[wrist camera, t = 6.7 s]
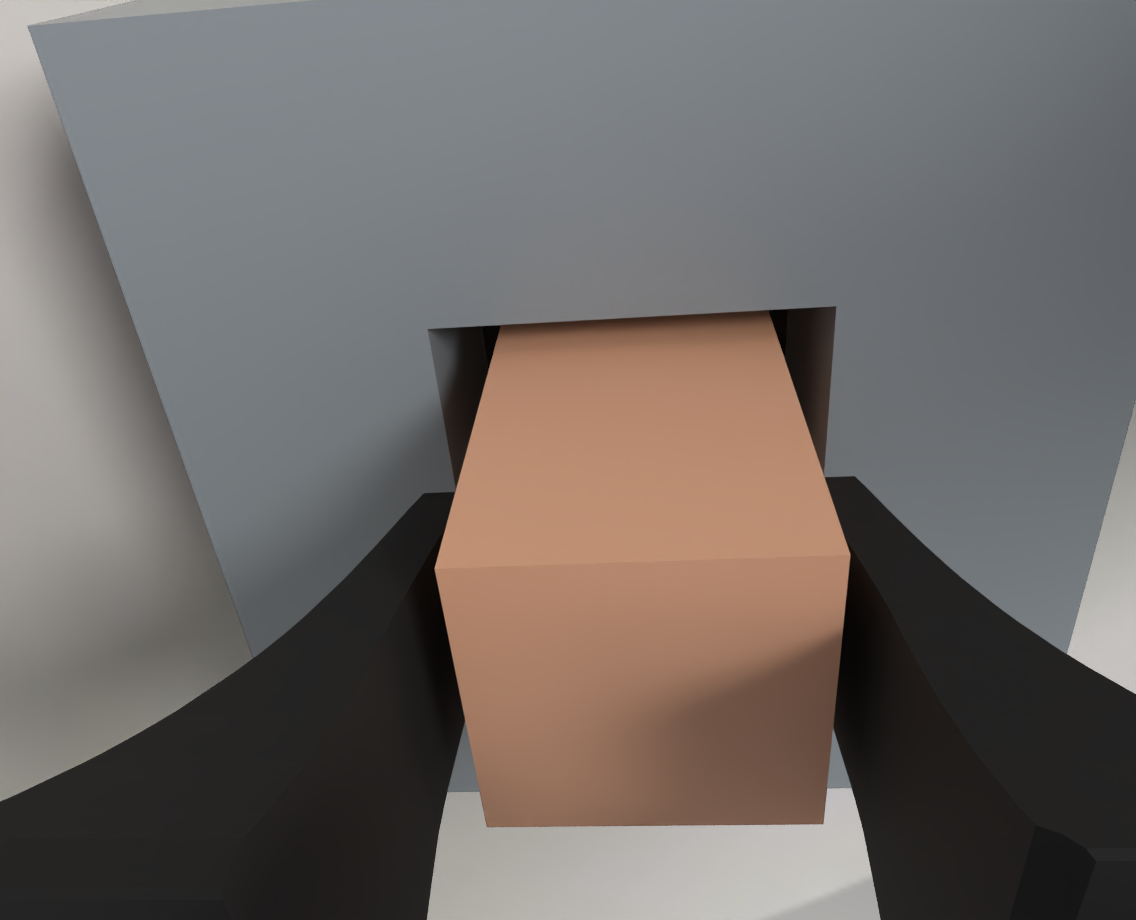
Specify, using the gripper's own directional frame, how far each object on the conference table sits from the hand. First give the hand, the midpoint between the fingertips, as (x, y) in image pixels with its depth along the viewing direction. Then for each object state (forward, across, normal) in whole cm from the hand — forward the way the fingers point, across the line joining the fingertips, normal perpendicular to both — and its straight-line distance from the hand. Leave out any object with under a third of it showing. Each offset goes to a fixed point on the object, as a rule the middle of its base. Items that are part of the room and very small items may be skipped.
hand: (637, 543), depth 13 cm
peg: (+6, 0, 0) cm, 6 cm away
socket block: (+5, 0, 0) cm, 5 cm away
